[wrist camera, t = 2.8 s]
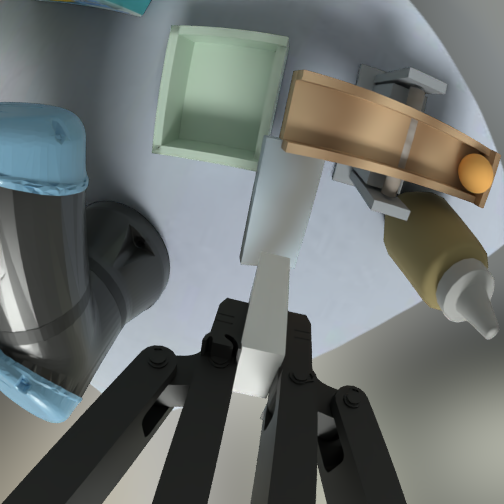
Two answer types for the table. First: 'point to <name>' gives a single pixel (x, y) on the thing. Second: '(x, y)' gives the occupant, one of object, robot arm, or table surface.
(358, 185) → the fulcrum
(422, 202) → the squeeze bottle
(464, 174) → the ball
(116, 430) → the robot arm
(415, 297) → the table surface
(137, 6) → the game box
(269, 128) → the dish
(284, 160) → the lever
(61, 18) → the table surface
